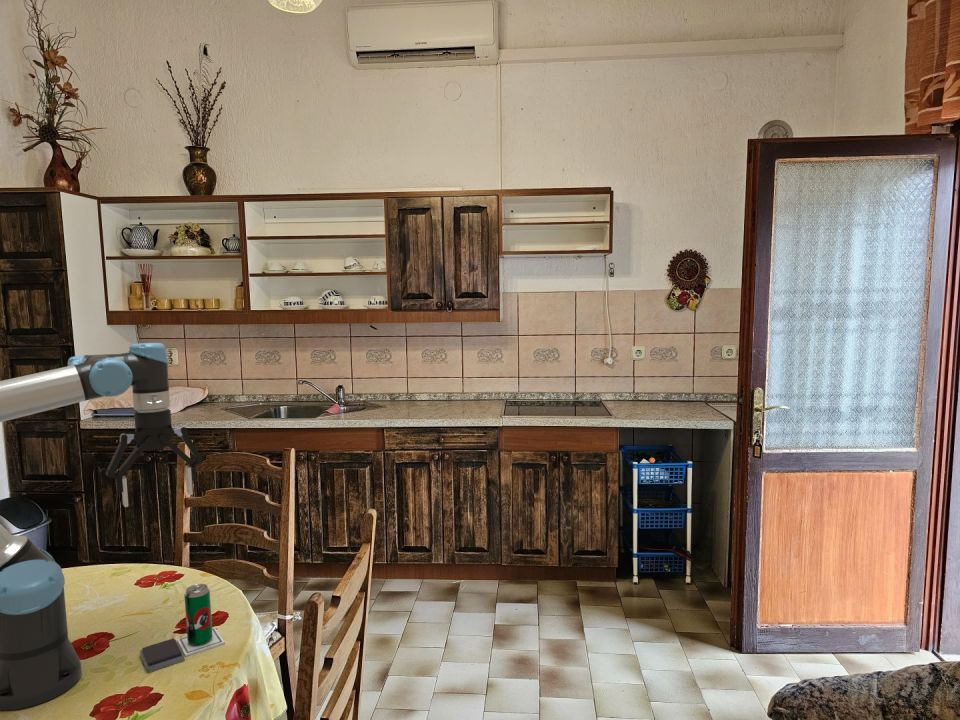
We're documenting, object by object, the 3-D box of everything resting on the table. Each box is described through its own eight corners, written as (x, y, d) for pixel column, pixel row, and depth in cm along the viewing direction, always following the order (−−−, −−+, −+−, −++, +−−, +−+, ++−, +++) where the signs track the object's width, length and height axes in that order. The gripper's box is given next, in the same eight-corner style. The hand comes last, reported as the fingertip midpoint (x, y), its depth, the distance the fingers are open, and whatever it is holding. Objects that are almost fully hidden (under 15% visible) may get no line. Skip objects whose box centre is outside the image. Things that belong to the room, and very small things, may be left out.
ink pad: (147, 673, 127) (146, 664, 127) (140, 655, 133) (139, 647, 133) (184, 660, 131) (183, 652, 131) (176, 644, 137) (175, 636, 137)
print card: (185, 656, 132) (185, 654, 132) (177, 641, 139) (176, 638, 139) (224, 643, 137) (224, 641, 137) (215, 629, 144) (214, 627, 144)
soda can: (217, 635, 140) (213, 583, 139) (205, 647, 135) (201, 593, 134) (195, 634, 141) (192, 582, 140) (182, 646, 136) (179, 593, 135)
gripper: (91, 418, 135) (98, 515, 137) (213, 405, 150) (218, 492, 152) (87, 414, 141) (94, 506, 143) (205, 401, 156) (210, 485, 158)
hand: (158, 499), depth 147 cm, fingers open, 13 cm apart
